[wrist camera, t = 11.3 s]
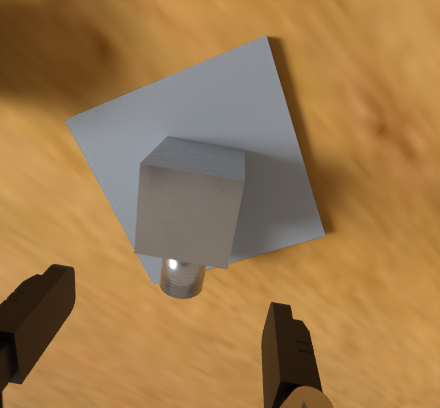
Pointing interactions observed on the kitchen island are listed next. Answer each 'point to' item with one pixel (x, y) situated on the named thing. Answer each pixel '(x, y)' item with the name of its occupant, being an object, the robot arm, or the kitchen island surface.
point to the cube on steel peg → (188, 210)
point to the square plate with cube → (213, 134)
